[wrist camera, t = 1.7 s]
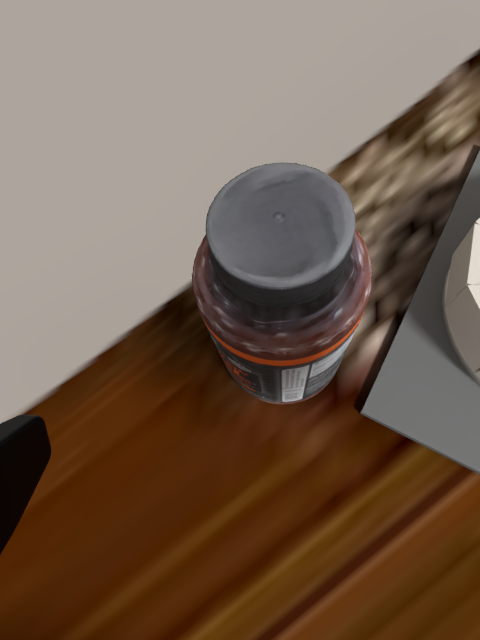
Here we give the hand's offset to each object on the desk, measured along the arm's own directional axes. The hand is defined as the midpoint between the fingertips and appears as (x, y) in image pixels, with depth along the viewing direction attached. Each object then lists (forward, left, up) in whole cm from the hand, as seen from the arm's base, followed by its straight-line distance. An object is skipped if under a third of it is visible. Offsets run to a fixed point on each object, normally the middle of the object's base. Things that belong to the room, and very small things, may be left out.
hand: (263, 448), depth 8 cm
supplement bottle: (+6, -2, -12) cm, 14 cm away
